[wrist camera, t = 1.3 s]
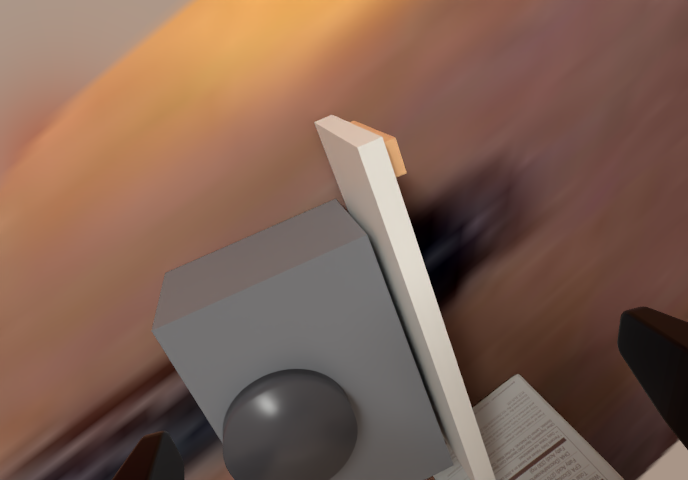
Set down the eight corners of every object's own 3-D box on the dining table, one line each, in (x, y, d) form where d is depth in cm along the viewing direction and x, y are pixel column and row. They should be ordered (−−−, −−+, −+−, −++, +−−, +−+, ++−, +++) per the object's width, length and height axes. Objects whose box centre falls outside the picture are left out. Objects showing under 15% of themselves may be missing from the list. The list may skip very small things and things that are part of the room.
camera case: (275, 462, 26) (292, 570, 20) (165, 273, 21) (147, 346, 16) (412, 396, 27) (463, 482, 21) (335, 198, 22) (375, 244, 16)
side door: (419, 397, 26) (481, 497, 20) (314, 122, 20) (357, 147, 14) (442, 386, 27) (511, 482, 20) (344, 109, 20) (401, 128, 14)
